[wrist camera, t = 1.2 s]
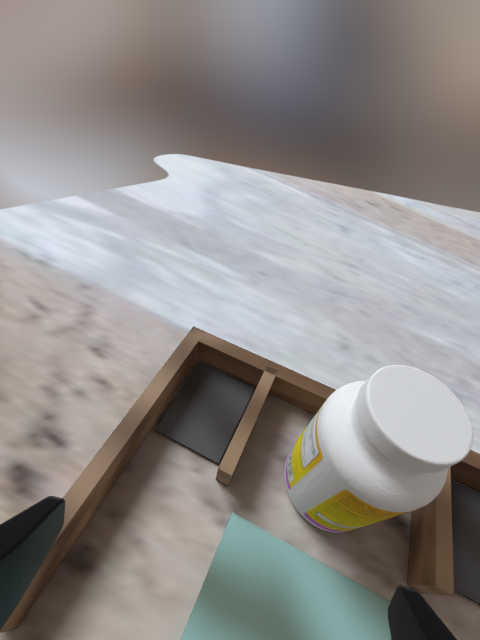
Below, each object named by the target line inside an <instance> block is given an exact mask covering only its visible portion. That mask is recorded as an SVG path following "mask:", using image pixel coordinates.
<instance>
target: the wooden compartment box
mask: <svg viewBox="0 0 480 640" xmlns="http://www.w3.org/2000/svg"><path fill="white" fill-rule="evenodd" d="M197 360H200V361H202V362H204V363H206V364H208V365H211V366H213V367H215V368H217V369H219V370H221V371H223V372H225V373H228V374H230V375H232V376H234V377H236V378H238V379H240V380H243V381H245V382H247V383H249V384H251V385H253V386H255V387H257V388H256V390H255V392H254V394H253V396H252V398H251V400H250V402H249V404H248V407H247V409H246V411H245V413H244V415H243V417H242V419H241V421H240V423H239V426H238V428H237V430H236V432H235V434H234V436H233V438H232V440H231V442H230V445H229V447H228V449H227V451H226V453H225V455H224V457H223V459H222V461H221V464H220V466H219V468H218V472H217V476H216V480H218V481H220V482H221V483H223V484H225V485H227V486H228V485H229V482H230V480H231V478H232V475H233V473H234V471H235V469H236V466H237V464H238V462H239V459H240V457H241V455H242V453H243V450H244V448H245V446H246V443H247V441H248V439H249V437H250V434H251V432H252V430H253V427H254V425H255V423H256V420H257V418H258V416H259V414H260V411H261V409H262V407H263V404H264V402H265V400H266V398H267V395H268V393H270V394H272V395H275V396H277V397H279V398H281V399H283V400H285V401H287V402H289V403H292V404H294V405H296V406H298V407H300V408H302V409H304V410H307V411H309V412H311V413H313V414H315V415H316V414H317V412H318V411H319V409H320V408H321V407H322V405H323V404H324V402H325V401H326V400H327V399H328V397H329V396H330V395H331V394H332V393H333V392H334V391H336V390H335V389H333V388H330V387H328V386H326V385H324V384H321V383H319V382H317V381H315V380H312V379H310V378H308V377H306V376H303V375H301V374H299V373H297V372H295V371H292V370H290V369H288V368H286V367H283V366H281V365H279V364H277V363H274V362H272V361H270V360H268V359H265V358H263V357H261V356H259V355H256V354H254V353H252V352H250V351H247V350H245V349H243V348H241V347H238V346H236V345H234V344H232V343H229V342H227V341H225V340H223V339H221V338H218V337H216V336H214V335H212V334H209V333H207V332H205V331H203V330H200V329H198V328H196V327H194V326H193V328H192V329H191V330H190V332H189V333H188V334H187V336H186V337H185V338H184V339H183V341H182V342H181V343H180V345H179V346H178V347H177V349H176V350H175V351H174V353H173V354H172V355H171V357H170V358H169V359H168V361H167V362H166V363H165V364H164V366H163V367H162V368H161V370H160V371H159V372H158V374H157V375H156V376H155V378H154V379H153V380H152V382H151V383H150V384H149V386H148V387H147V388H146V389H145V391H144V392H143V393H142V395H141V396H140V397H139V399H138V400H137V401H136V403H135V404H134V405H133V407H132V408H131V409H130V410H129V412H128V413H127V414H126V416H125V417H124V418H123V420H122V421H121V422H120V424H119V425H118V426H117V428H116V429H115V430H114V432H113V433H112V434H111V435H110V437H109V438H108V439H107V441H106V442H105V443H104V445H103V446H102V447H101V449H100V450H99V451H98V453H97V454H96V455H95V457H94V458H93V459H92V460H91V462H90V463H89V464H88V466H87V467H86V468H85V470H84V471H83V472H82V474H81V475H80V476H79V478H78V479H77V480H76V482H75V483H74V484H73V485H72V487H71V488H70V489H69V491H68V492H67V493H66V495H65V496H64V497H63V499H64V500H65V516H64V524H63V527H62V530H61V532H60V534H59V536H58V537H57V539H56V541H55V543H54V544H53V546H52V548H51V549H50V551H49V553H48V555H47V556H46V558H45V560H44V562H43V563H42V565H41V567H40V568H39V570H38V572H37V574H36V575H35V577H34V579H33V580H32V582H31V584H30V586H29V587H28V589H27V591H26V592H25V594H24V596H23V597H22V599H21V601H20V602H19V604H18V605H17V607H16V608H15V610H14V611H13V613H12V614H11V616H10V617H9V619H8V620H7V622H6V623H5V624H4V626H3V627H2V629H1V630H0V633H1V632H4V631H8V630H11V629H15V628H17V627H18V625H19V624H20V622H21V621H22V619H23V618H24V616H25V615H26V613H27V612H28V610H29V609H30V607H31V606H32V604H33V603H34V601H35V600H36V598H37V597H38V596H39V594H40V593H41V591H42V590H43V588H44V587H45V585H46V584H47V582H48V581H49V579H50V578H51V576H52V575H53V573H54V572H55V570H56V569H57V567H58V566H59V564H60V563H61V562H62V560H63V559H64V557H65V556H66V554H67V553H68V551H69V550H70V548H71V547H72V545H73V544H74V542H75V541H76V539H77V538H78V536H79V535H80V533H81V532H82V530H83V529H84V527H85V526H86V525H87V523H88V522H89V520H90V519H91V517H92V516H93V514H94V513H95V511H96V510H97V508H98V507H99V505H100V504H101V502H102V501H103V499H104V498H105V496H106V495H107V493H108V492H109V491H110V489H111V488H112V486H113V485H114V483H115V482H116V480H117V479H118V477H119V476H120V474H121V473H122V471H123V470H124V468H125V467H126V465H127V464H128V462H129V461H130V459H131V458H132V457H133V455H134V454H135V452H136V451H137V449H138V448H139V446H140V445H141V443H142V442H143V440H144V439H145V437H146V436H147V434H148V433H149V431H150V430H151V428H152V427H153V425H154V424H155V423H156V421H157V420H158V418H159V417H160V415H161V414H162V412H163V411H164V409H165V408H166V406H167V405H168V403H169V402H170V400H171V399H172V397H173V396H174V394H175V393H176V391H177V390H178V388H179V387H180V386H181V384H182V383H183V381H184V380H185V378H186V377H187V375H188V374H189V372H190V371H191V369H192V368H193V366H194V365H195V363H196V362H197ZM253 391H254V388H252V387H250V386H248V385H246V384H244V383H241V382H239V381H237V380H235V379H233V378H231V377H229V376H227V375H224V374H222V373H220V372H218V371H216V370H214V369H212V368H210V367H207V366H205V365H203V364H201V363H199V365H198V366H197V368H196V369H195V371H194V372H193V374H192V375H191V377H190V378H189V380H188V381H187V383H186V384H185V386H184V387H183V389H182V390H181V392H180V393H179V395H178V396H177V398H176V399H175V401H174V402H173V404H172V405H171V407H170V408H169V410H168V411H167V413H166V414H165V416H164V417H163V419H162V420H161V422H160V423H159V425H158V426H157V428H156V429H155V430H156V431H157V432H159V433H161V434H163V435H165V436H166V437H168V438H170V439H172V440H174V441H176V442H178V443H179V444H181V445H183V446H185V447H187V448H189V449H191V450H192V451H194V452H196V453H198V454H200V455H202V456H204V457H206V458H207V459H209V460H211V461H213V462H215V463H217V464H219V462H220V460H221V458H222V456H223V454H224V452H225V449H226V447H227V445H228V443H229V441H230V439H231V437H232V435H233V433H234V431H235V428H236V426H237V424H238V422H239V420H240V418H241V416H242V414H243V412H244V410H245V408H246V405H247V403H248V401H249V399H250V397H251V395H252V393H253ZM451 478H452V479H454V480H456V481H458V482H460V483H462V484H464V485H467V486H469V487H471V488H473V489H475V490H477V491H479V492H480V454H478V453H476V452H474V451H472V450H470V451H469V453H468V454H467V456H466V457H465V458H464V459H463V460H462V461H460V462H459V463H457V464H455V465H453V466H451V467H449V468H448V473H447V478H446V482H445V484H444V486H443V488H442V490H441V491H440V493H439V494H438V495H437V496H436V497H435V498H434V500H433V501H431V502H430V503H429V504H427V505H425V506H423V507H421V508H418V509H416V510H413V511H411V529H410V548H409V567H408V585H409V586H411V587H413V588H415V589H417V590H418V591H420V592H422V593H427V594H441V595H454V591H455V592H457V593H459V594H461V595H463V596H465V597H466V598H468V599H470V600H472V601H474V602H476V603H478V604H479V605H480V494H477V493H475V492H473V491H471V490H469V489H467V488H465V487H463V486H460V485H458V484H456V483H454V482H452V481H451ZM389 604H390V601H388V600H386V599H385V598H383V597H381V596H379V595H378V594H376V593H374V592H372V591H371V590H369V589H367V588H365V587H363V586H362V585H360V584H358V583H356V582H355V581H353V580H351V579H349V578H348V577H346V576H344V575H342V574H340V573H339V572H337V571H335V570H333V569H332V568H330V567H328V566H326V565H325V564H323V563H321V562H319V561H317V560H316V559H314V558H312V557H310V556H309V555H307V554H305V553H303V552H302V551H300V550H298V549H296V548H294V547H293V546H291V545H289V544H287V543H286V542H284V541H282V540H280V539H279V538H277V537H275V536H273V535H271V534H270V533H268V532H266V531H264V530H263V529H261V528H259V527H257V526H256V525H254V524H252V523H250V522H248V521H247V520H245V519H243V518H241V517H240V516H238V515H236V514H234V513H233V512H232V514H231V517H230V519H229V522H228V524H227V527H226V529H225V532H224V534H223V537H222V539H221V542H220V544H219V547H218V549H217V552H216V554H215V556H214V559H213V561H212V564H211V566H210V569H209V571H208V574H207V576H206V579H205V581H204V584H203V586H202V589H201V591H200V594H199V596H198V598H197V601H196V603H195V606H194V608H193V611H192V613H191V616H190V618H189V621H188V623H187V626H186V628H185V631H184V633H183V636H182V638H181V640H391V633H390V628H389V622H388V606H389Z"/></svg>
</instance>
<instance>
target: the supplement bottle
mask: <svg viewBox="0 0 480 640" xmlns="http://www.w3.org/2000/svg"><path fill="white" fill-rule="evenodd" d="M472 442H473V429H472V425H471V421H470V419H469V416H468V414H467V412H466V410H465V408H464V407H463V405H462V404H461V402H460V401H459V399H458V398H457V397H456V396H455V395H454V393H453V392H452V391H451V390H450V389H449V388H448V387H447V386H445V385H444V384H443V383H442V382H440V381H439V380H438V379H436V378H434V377H433V376H431V375H430V374H428V373H426V372H424V371H422V370H419V369H417V368H414V367H409V366H404V365H391V366H387V367H383V368H381V369H379V370H378V371H376V372H375V373H374V374H373V375H372V376H371V377H370V378H369V379H368V380H367V381H357V382H352V383H349V384H346V385H344V386H342V387H340V388H338V389H337V390H336V391H334V392H333V393H332V394H331V395H330V396H329V397H328V399H327V400H326V401H325V402H324V404H323V405H322V407H321V408H320V409H319V411H318V412H317V414H316V415H315V416H314V418H313V419H312V420H311V422H310V423H309V424H308V426H307V427H306V429H305V430H304V431H303V433H302V434H301V435H300V437H299V438H298V439H297V441H296V442H295V444H294V445H293V447H292V448H291V450H290V452H289V454H288V456H287V459H286V463H285V471H284V476H285V484H286V489H287V492H288V495H289V497H290V499H291V501H292V503H293V505H294V506H295V508H296V509H297V511H298V512H299V513H300V514H301V515H302V516H303V517H304V518H305V519H306V520H307V521H308V522H309V523H311V524H312V525H314V526H315V527H317V528H319V529H322V530H324V531H328V532H335V533H342V532H347V531H351V530H355V529H358V528H361V527H364V526H367V525H370V524H373V523H376V522H379V521H383V520H385V519H389V518H392V517H395V516H397V515H401V514H404V513H407V512H410V511H413V510H416V509H418V508H421V507H423V506H425V505H427V504H429V503H430V502H431V501H433V500H434V498H435V497H436V496H437V495H438V494H439V493H440V491H441V490H442V488H443V486H444V484H445V482H446V478H447V473H448V468H449V467H451V466H453V465H455V464H457V463H459V462H460V461H462V460H463V459H464V458H465V457H466V456H467V454H468V453H469V451H470V449H471V446H472Z"/></svg>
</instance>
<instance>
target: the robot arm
mask: <svg viewBox="0 0 480 640" xmlns="http://www.w3.org/2000/svg"><path fill="white" fill-rule="evenodd" d="M64 516H65V500H64V499H63V498H59V497H55V496H49V497H47V498H45V499H43V500H41V501H40V502H38V503H36V504H35V505H33V506H31V507H29V508H28V509H26V510H24V511H23V512H21V513H19V514H18V515H16V516H14V517H12V518H11V519H9V520H7V521H6V522H4V523H2V524H0V630H1V629H2V627H3V626H4V624H5V623H6V622H7V620H8V619H9V617H10V616H11V614H12V613H13V611H14V610H15V608H16V607H17V605H18V604H19V602H20V601H21V599H22V597H23V596H24V594H25V592H26V591H27V589H28V587H29V586H30V584H31V582H32V580H33V579H34V577H35V575H36V574H37V572H38V570H39V568H40V567H41V565H42V563H43V562H44V560H45V558H46V556H47V555H48V553H49V551H50V549H51V548H52V546H53V544H54V543H55V541H56V539H57V537H58V536H59V534H60V532H61V530H62V527H63V524H64ZM388 622H389V628H390V633H391V638H392V640H457V639H456V638H455V637H454V635H453V634H452V633H451V632H450V630H449V629H448V628H447V627H446V626H445V624H444V623H443V622H442V621H441V619H440V618H439V617H438V616H437V614H436V613H435V612H434V611H433V609H432V608H431V607H430V606H429V605H428V603H427V602H426V601H425V600H424V598H423V597H422V596H421V595H420V593H419V592H418V591H417V590H415V589H413V588H410V587H406V586H402V585H400V586H398V587H397V588H396V591H395V593H394V595H393V597H392V599H391V602H390V604H389V606H388Z"/></svg>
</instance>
